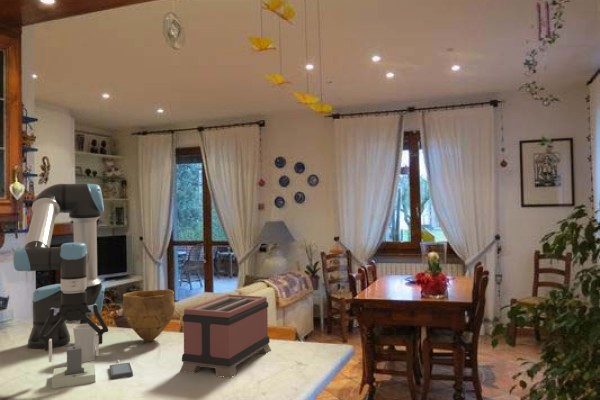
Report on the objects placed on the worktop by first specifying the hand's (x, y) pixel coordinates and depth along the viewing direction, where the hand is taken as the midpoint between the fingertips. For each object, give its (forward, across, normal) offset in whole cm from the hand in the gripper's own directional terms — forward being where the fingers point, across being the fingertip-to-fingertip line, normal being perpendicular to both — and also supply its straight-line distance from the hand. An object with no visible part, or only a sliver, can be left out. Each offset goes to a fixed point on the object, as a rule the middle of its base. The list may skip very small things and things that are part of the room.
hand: (74, 357), depth 155 cm
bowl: (+7, +28, +34) cm, 44 cm away
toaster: (+7, +51, -3) cm, 51 cm away
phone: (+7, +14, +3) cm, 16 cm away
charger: (+7, 0, 0) cm, 7 cm away
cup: (+7, +4, +20) cm, 22 cm away
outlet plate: (+7, 0, 0) cm, 7 cm away
